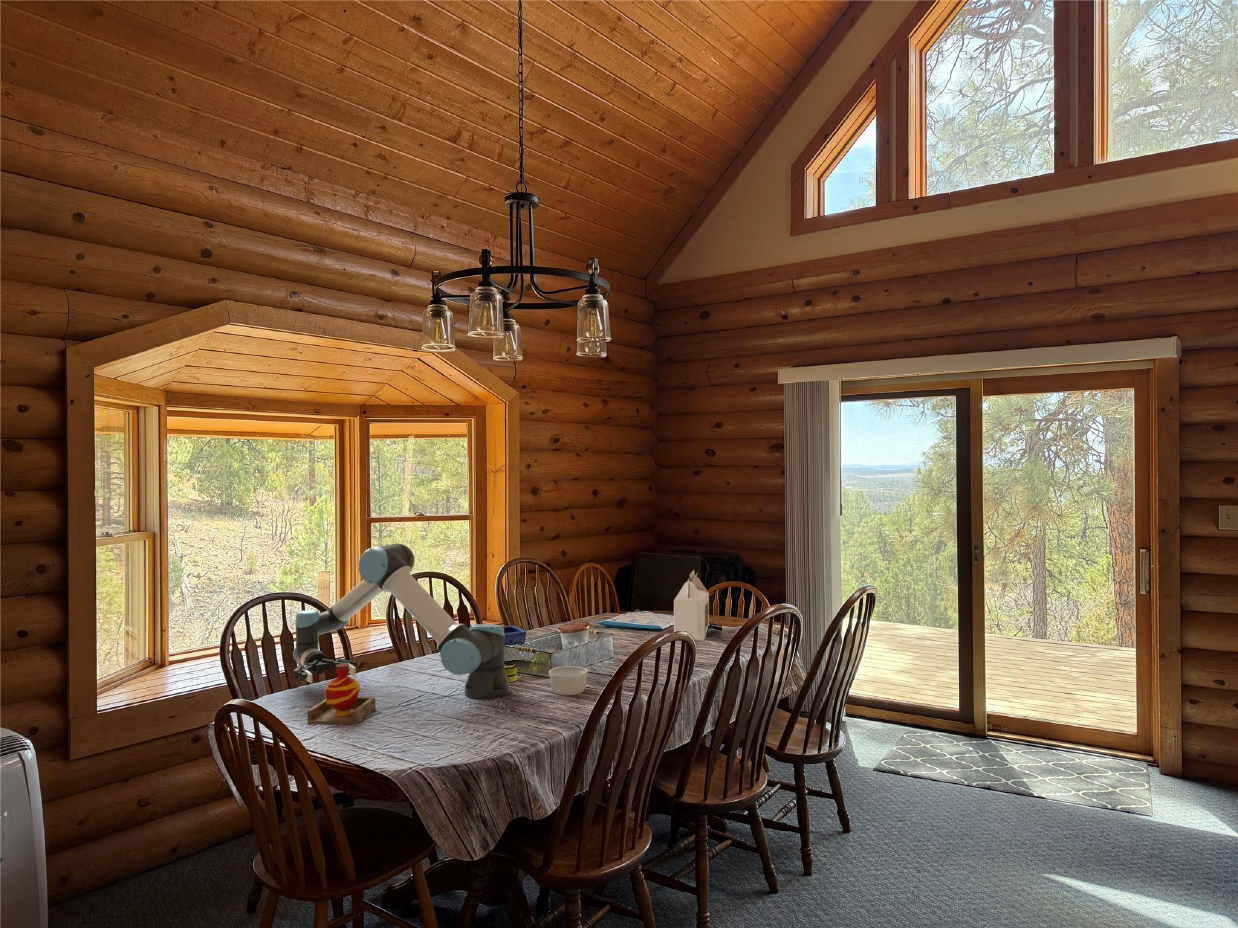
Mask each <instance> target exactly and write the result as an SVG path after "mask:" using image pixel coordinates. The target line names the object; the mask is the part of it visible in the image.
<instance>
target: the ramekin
mask: <svg viewBox="0 0 1238 928" xmlns="http://www.w3.org/2000/svg"><path fill="white" fill-rule="evenodd" d="M587 676H588V669H587V668H585V667H582V666H573V665H571V666H570V665H564V666H557V667H554V668H552V669H550V670H549V671H548V677H549V683H550V689H551V690H552V691H551V692H553V693H554V694H556V695H560V696H573V695H574V696H575V695H579V694H582V693H583V692H584V691H585V690H586V686H587V678H588V677H587Z"/></svg>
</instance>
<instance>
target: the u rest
mask: <svg viewBox="0 0 1238 928" xmlns="http://www.w3.org/2000/svg"><path fill="white" fill-rule="evenodd" d="M350 711H351V714H349V715H346V716H336V715H334V714H335V712H336V710H335V709H333V708H332V707H331V706H330V705H329V704H327V703H326V698H325V699H323V700H322V701H320V702H318V703H317V704H315V705H314V706H313V707H310V709H309V708H308V709H307V716H306V718H307V720H306V721H307V724H318V723H321V724H323V725H324V724H325V725H327V724H328V725H349V726H350V725H352V726H353V725H354V726H355V725H357V724H358V723H360V722H361V721H362V720H364V719H365V718H366V717H368V716H369V715H370V714H372V713H373V712H374V711H376V697H371V696H369V697H368V696H367V697H366V696H358V698H357V700H356V702H355V703H354V705H353V706H352V707H351V708H350ZM372 711H373V712H372ZM368 714H369V715H368ZM321 724H320V725H321Z"/></svg>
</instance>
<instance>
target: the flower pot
mask: <svg viewBox="0 0 1238 928" xmlns="http://www.w3.org/2000/svg"><path fill="white" fill-rule="evenodd" d="M502 627H503V628H504V635H505V638H504V647H505V645H516V644H518V645H522V644H524V645H525V643H526V639H527V638H526V637H527V632H526V630H524V629H522V628H520V627H518V626H516V625H505V626H502Z"/></svg>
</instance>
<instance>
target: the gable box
mask: <svg viewBox="0 0 1238 928" xmlns="http://www.w3.org/2000/svg"><path fill="white" fill-rule="evenodd" d="M697 575H698V573H696V574H695V569H693V570H692V571H691V572H689V575H688V579H687V581H686V582H685V583H683V585H682V588H681V589H680V590H679V592H678V593H677V595H676V597H674V599H673V633H674V632H676V631H687V632H688V633H690V634H691V635H692V636H693V637H694V639H695V640H694V641H704V640H705V639H706V637H707V635H706V633H707V629H708V626H709V627H710V614H709V613H710V612H709V611H710V610H709V609H710V602H709V600H710V592H709V590H707V588H706V586H705V585H704V584H703V582H702V581H701V579H700V578H699V577H698V576H697ZM705 624H707V626H706V628H705ZM707 634H708V633H707Z"/></svg>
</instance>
